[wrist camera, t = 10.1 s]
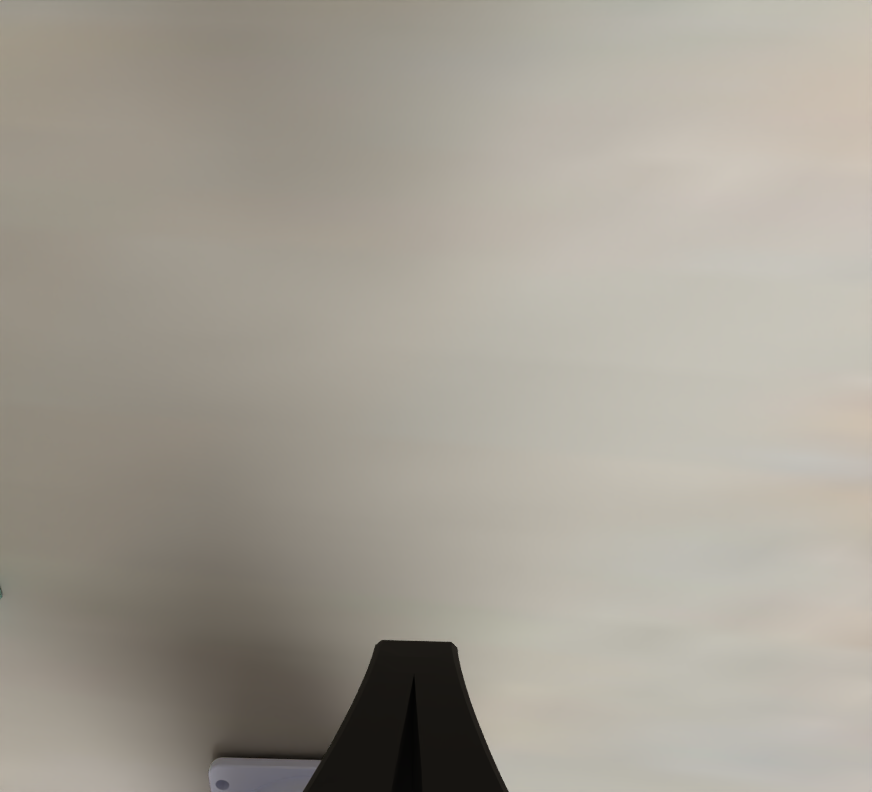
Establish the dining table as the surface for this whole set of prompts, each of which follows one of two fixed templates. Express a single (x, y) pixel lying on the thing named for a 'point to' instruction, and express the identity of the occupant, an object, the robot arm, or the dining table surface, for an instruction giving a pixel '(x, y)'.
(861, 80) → the dining table surface
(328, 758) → the robot arm
